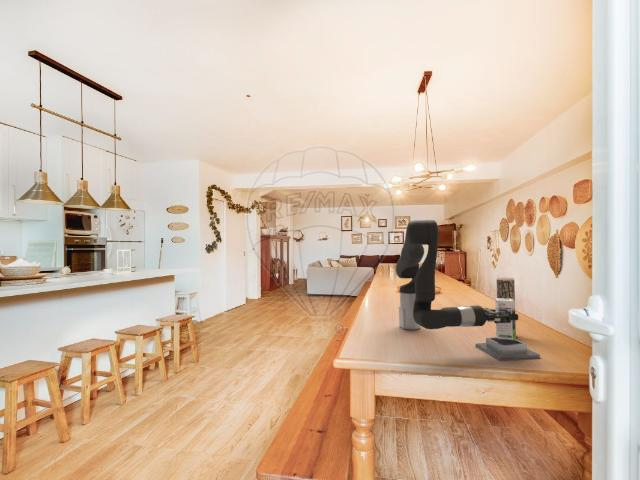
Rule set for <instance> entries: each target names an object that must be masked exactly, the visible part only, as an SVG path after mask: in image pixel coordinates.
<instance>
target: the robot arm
mask: <svg viewBox="0 0 640 480" xmlns="http://www.w3.org/2000/svg"><path fill="white" fill-rule="evenodd" d="M424 245H425V246H428V247H427V252H426V256H425V258H424V260H423V262H422V263H421V261H422V259H423V257H424V255H425V248H424ZM438 245H439V225H438V223H437V221H436V220H434V219H418V220H417V219H415V220H414V219H413V220H411V221H409V222H408V224H407V226H406V230H405V238H404V242H403V245H402V248H401V252H400V256H399V258H398V260H397V262H396V265H395V274H396V276H397V277H398V278H399V279H411V280H410V281H409V282H408V283H405V284H402V285H400V287H399V307H398V315H399V316H398V318H399V319H398V320H399V321H398V322H399V323H398V324H399V325H398V326H399V327H400V328H402V329H403V330H409V331H411V330H419V329H420V328H421V327H422V328H423V329H425V330H439V329H445V328H452V327H453V328H454V327H463V328H468V327H472V328H473V327H483V326H484V325H485V324H486V322H488V323H494V324H496V323H511V321H512V320H516V321H519V314H518V313H515V314H502V313H501V312H496V309H495V308H494V309H493V308H488V307H482V306H481V305H461V306H459V305H458V306H451V307H450V306H447V307H443V308H440V309H432V302H433V301H435V299H436V266H437V260H438V259H437V257H438ZM420 263H421V265H420ZM497 314H499V316H498V315H497Z"/></svg>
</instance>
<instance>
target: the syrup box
mask: <svg viewBox="0 0 640 480" xmlns="http://www.w3.org/2000/svg"><path fill="white" fill-rule="evenodd" d="M494 301H495V302H494V303H495V307H494V309H496V312H501V313H502V314H516V300H515V301H514V300H513V299H505V298H497V297H496V298H495V299H494ZM497 315H498V316H499V314H497ZM495 335H496V337H498V339H508V340H517V338H516V337H517V331H516V332H515V320H512V321H511V323H495Z"/></svg>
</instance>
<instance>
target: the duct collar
mask: <svg viewBox="0 0 640 480" xmlns="http://www.w3.org/2000/svg"><path fill="white" fill-rule="evenodd" d="M475 348H477V349H479V350H480V351H482V352H484V353H486V354H488V355H489V356H491V357H493V358H495V359H497V360H498V361H501V362H502V361H513V360H515V361H517V360H531V359H533V360H534V359H541V354H539V353H538V352H536V351H533V350H531V349H529V348H528V344H527V343H525V342H523V341H520V340H519V339H516V340H508V339H498V337H497V336H494V337H493V336H492V337H491V336H490V337H485V342H482V343H475Z"/></svg>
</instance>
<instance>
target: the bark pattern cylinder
mask: <svg viewBox="0 0 640 480" xmlns="http://www.w3.org/2000/svg"><path fill="white" fill-rule="evenodd" d="M495 280H496V298H505V299H513V300H514V301H515V302H516V294H515V293H516V292H515V291H516V290H515V286H516V285H515V277H508V276H507V277H505V276H504V277H502V276H501V277H496V279H495ZM516 321H517V320H515V332H516V333H517V330H516V329H517V328H516V327H517V325H516Z"/></svg>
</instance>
